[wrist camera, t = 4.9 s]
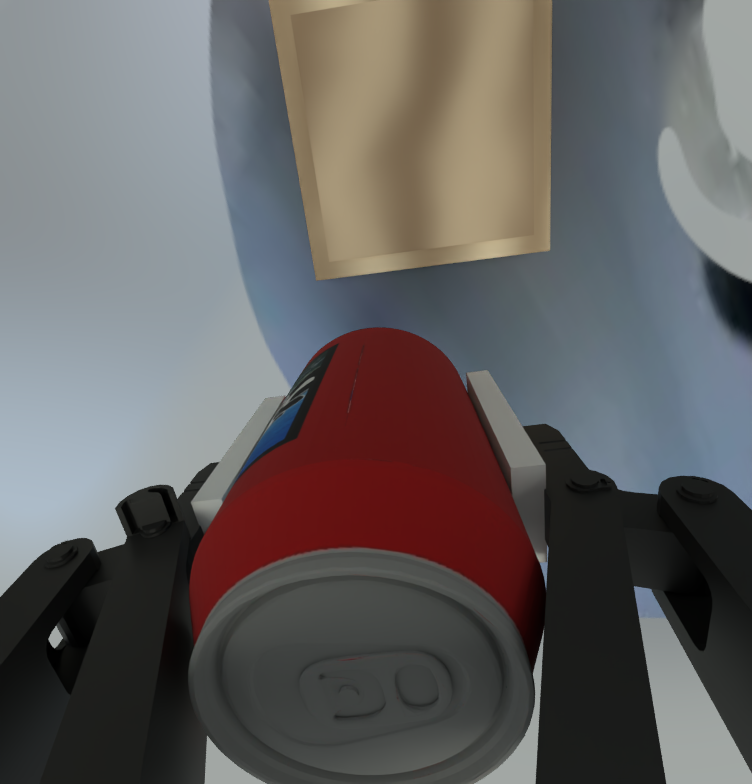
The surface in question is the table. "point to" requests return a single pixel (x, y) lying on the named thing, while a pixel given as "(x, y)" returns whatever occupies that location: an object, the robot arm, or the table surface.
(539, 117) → the square tray
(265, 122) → the table surface
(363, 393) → the beverage can
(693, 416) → the table surface
